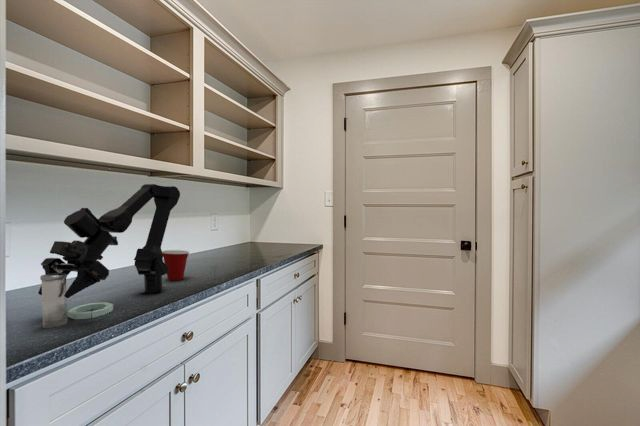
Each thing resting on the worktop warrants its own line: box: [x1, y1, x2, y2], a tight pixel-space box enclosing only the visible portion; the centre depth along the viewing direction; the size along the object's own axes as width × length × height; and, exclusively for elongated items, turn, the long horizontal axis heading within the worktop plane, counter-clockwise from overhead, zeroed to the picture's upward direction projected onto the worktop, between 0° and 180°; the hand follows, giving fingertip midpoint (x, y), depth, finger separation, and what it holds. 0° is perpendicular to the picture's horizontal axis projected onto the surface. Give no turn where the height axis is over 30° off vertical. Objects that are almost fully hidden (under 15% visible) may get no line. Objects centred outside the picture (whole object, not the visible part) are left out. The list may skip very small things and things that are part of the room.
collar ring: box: [67, 301, 114, 320], centre depth 94 cm, size 10×10×2 cm
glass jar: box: [39, 273, 68, 329], centre depth 85 cm, size 5×5×13 cm
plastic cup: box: [162, 249, 191, 282], centre depth 135 cm, size 11×11×12 cm
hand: (52, 295), depth 84 cm, fingers open, 9 cm apart
